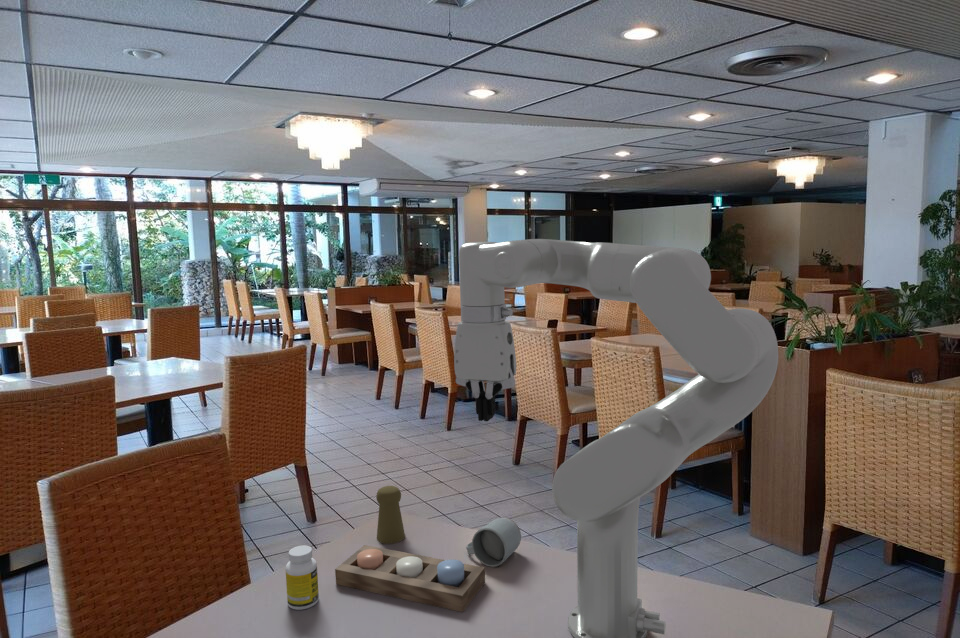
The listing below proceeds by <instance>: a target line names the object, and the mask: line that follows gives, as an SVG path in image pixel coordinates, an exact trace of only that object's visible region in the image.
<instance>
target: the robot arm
mask: <svg viewBox="0 0 960 638" xmlns="http://www.w3.org/2000/svg"><path fill="white" fill-rule="evenodd" d="M458 264H459V265H458V266H459V268H458V269H459V293H460V294H459V295H460V296H459V297H460V322H458V323H457V328H456V333H455V340H454V341H455V342H454V353H453V354H454V355H453V356H454V358H453V360H454V361H453V362H454V364H453V365H454V367H453V368H454V374H455V383H456V384H457V385H459V386H462V387H465V388H467V389H468V390H469V392H470V393H472V397H473V398H474V399H475V410H476V411H475V413H476V415H477V416H478V417H477V420H478V421H480V422H482V421H484V422H489V421H490V420H491V419H493V418H494V416H495V415H496V396H497V395H498V394H499V393H500V392H501V390H507V389H508V390H509V389H511V388H513V387H515V386H516V381H515V377H514V376H515V375H517V357H516V347H515V339H514V336H513V334H514V333H513V329H512V325H511V322H510V321H506V320H507V318H508V317H513V313H514V311H513V309H512V308H508V307H507V304H506V302H505V300H506V299H505V294H506V293H505V288H510V289H514V288H517V289H518V288H521V287H523V288H524V287H526V286H531V285H537V284H554V285H562V286H563V285H564V286H571V287H579V288H582V289H585V290H587V291H589V292H590V294H591V295H592V296H593V297H594V298H596V299H600V300H604V301H605V300H606V301H607V300H608V301H614V302H615V301H616V302H626V303H633V304H637V306H638V308H639V309H640V310H641V311H642V312H643V314H644V315H645V317H646V318H647V319H648V320H649V322H650V323H651V324H652V325H653V326H654V327H655V328H656V330H657V331H658V332H659V333H660V334H661V336H662V337H664V339H665V340H666V341H667V342H668V343H669V345H670V346H671V347H672V348H673V349H674V351H675V352H677V354H678V355H679V356H680V357H681V358H682V360H683V361H685V363H686V364H687V365H688V366H689V367H690V369H692V370H693V371H694V372H695V373H697V375H695V376H694V377H693V378H691V379H690V380H688V381H687V382H686V383H684V384H683V385H681V386H680V387H679V388H678V389H676V390H675V391H673V392H672V393H670V394H668V395H667V396H665V397H664V398H662V399H661V400H659V401H657V402H656V403H654V404H651V405H650V406H648V407H646V408H643V409H642V410H641V409H640V411H638V412H636V413H634V414H632V415H631V416H630V417H628V418H627V419H625V421H624V420H623V421H622V423H620V424H618V426H616V427H614V428H613V429H611V430H610V431H609V432H607V433H605V434H604V435H603V436H601V437H600V438H598V439H595V440H593V441H592V442H590V443H589V444H587V445H585V446H583V448H581V449H580V450H578V451H577V452H576V453H575V454H573V455H572V456H570V457H568V458H567V459H566V460H565V461H564V462H562V463H561V464H560V465H559V467H558V468H557V470H556V472H555V474H554V475H553V478H552V485H551V494H552V498H553V501H554V502H555V505H556V506H557V508H558V510H559V511H560V512H561V513H562V514H563V515H564V516H566V517H567V518H569V519H571V520H573V521H575V522H576V530H577V531H576V568H577V569H576V572H577V573H576V574H577V575H576V577H577V578H576V579H577V581H576V584H577V587H576V588H577V593H576V594H577V606H576V607H574V608H573V609H572V610H571V611H570V613H569V615H568V617H567V618H568V622H567V623H568V630H569V633H570V634H571V635H572V637H573V638H646V637H647V634H648V632H652V633H655V634H658V635H659V634H660V635H665V634H666V628H667V627H666V626H667V625H666V620H661V619H660V618H661V614H660V612H657V611H656V612H655V611H649V610H646V609H645V608H644V607H643V601H642V598H638V570H639V569H638V566H639V565H638V561H639V560H638V558H639V557H638V554H639V553H638V551H639V550H638V548H639V547H638V546H639V545H638V542H639V512H640V511H639V510H640V502H641V501H640V500H641V497H643V496H645V495H646V494H648V493H650V492H651V491H652V490H655V489H656V488H657V487H659V486H660V485H661V484H662V483H664V482H665V481H666V480H667V479H669V477H670V476H671V475H672V474H673V473H674V472H675V471H676V470H677V469H678V468H679V467H680V466H681V465H682V463H684V461H685V460H686V459H687V458H688V457H689V456H690V455H692V454H693V453H694V452H696V451H698V450H699V449H700V448H702V447H704V446H705V445H707V444H708V443H711V442H712V441H713V440H716V439H717V438H718V437H719V436H721V435H723V434H724V433H725V432H727V431H729V430H730V429H731V428H732V427H734V426H736V425H737V424H739V423H740V422H742V421H743V420H744V419H745V418H747V417H748V416H749V415H750V414H751V413H752V412H753V411H754V410H756V408H757V407H758V406H759V405H760V404H761V403H762V401H763V400H764V398H765V397H766V396H767V394H768V392H769V391H770V389H771V387H772V385H773V382H774V380H775V377H776V374H777V370H778V365H779V346H778V339H777V336H776V333H775V330H774V328H773V326H772V324H771V323H770V322H769V320H768V319H767V318H766V317H765V316H764V315H762V314H761V313H759V312H758V311H756V310H754V309H750V308H748V309H747V308H733V309H727V308H726V307H725V306H724V305H723V304H722V303H721V302H720V301H719V300H718V299H717V298H716V297H715V296H714V294H713V293H712V292H711V291H710V290H709V289H710V286H711V281H712V273H711V269H710V265H709V264H708V261H707V260H706V259H705V258H704V257H703V256H702V255H701V254H700V253H698V252H697V251H694V250H691V249H688V248H684V247H683V248H681V247H670V246H657V245H641V244H640V245H639V244H628V243H625V244H624V243H615V242H614V243H613V242H597V241H596V242H586V241H576V240H575V241H574V240H562V239H559V240H558V239H550V238H549V239H548V238H547V239H545V238H530V239H519V240H508V241H501V242H497V241H473V242H472V241H471V242H470V241H469V242H466V243H463V244H461V245H460V247H459V251H458ZM484 382H486V385H485V383H484ZM485 386H486V388H485Z"/></svg>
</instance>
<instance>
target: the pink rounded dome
mask: <svg viewBox="0 0 960 638" xmlns="http://www.w3.org/2000/svg"><path fill="white" fill-rule="evenodd" d="M357 562H358V567H361V568H366V569H371V570H376V569H377V568H378V567H379V566H380V565H381V564H383V553H382V551H380V550H378V549H367V550H364V551H362V552H360V553H359V554H358V555H357Z"/></svg>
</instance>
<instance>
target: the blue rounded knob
mask: <svg viewBox="0 0 960 638" xmlns="http://www.w3.org/2000/svg"><path fill="white" fill-rule="evenodd" d="M444 560H445V561H442V562H440V563H439V564H438V566H437V572H438V583H439V584H444V585H449V586H454V587H459V586H460V585H461V584H462V583H463V581H464V564H465V563H463V562H462V561H461V560H459V559H444Z"/></svg>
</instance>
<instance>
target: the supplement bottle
mask: <svg viewBox="0 0 960 638" xmlns="http://www.w3.org/2000/svg"><path fill="white" fill-rule="evenodd" d="M317 565H318V563H317V560H316V559H315V558H313V548H312V547H311V546H309V545H304V544H303V545H298V546H294V547H292V548H291V549H290V550H288V562H287V563H286V565H285V581H286V599H287V606H288V607H289V608H291V609H293V610H294V611H295V610H296V611H300V610H306V609H311V608H313V606H315V605H317V603H318V602H319V596H320V595H319V577H318V576H319V574H318V566H317Z"/></svg>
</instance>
